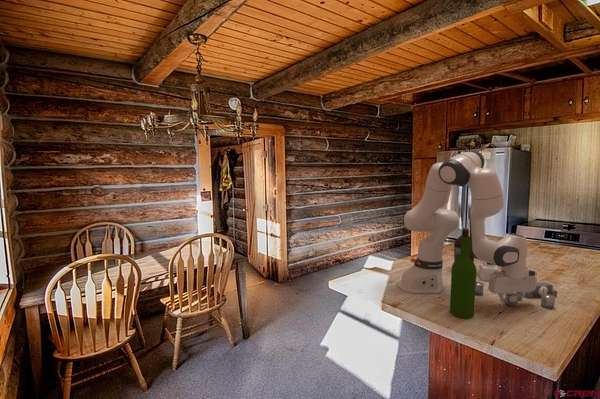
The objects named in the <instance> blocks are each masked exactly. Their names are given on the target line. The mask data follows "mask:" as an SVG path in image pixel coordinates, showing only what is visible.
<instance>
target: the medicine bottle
mask: <svg viewBox="0 0 600 399" xmlns="http://www.w3.org/2000/svg"><path fill="white" fill-rule="evenodd" d="M481 261H482V260H481ZM478 268H479V269H478V276H479V278H480V279H481V280H482V282H483V281H484V282H489V281H490V277H491V274H492V273H494V272H499V268H498V266H496V265H494V264H490V263H488V262H485V261H482V263H479V267H478Z"/></svg>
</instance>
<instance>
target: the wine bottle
mask: <svg viewBox="0 0 600 399" xmlns="http://www.w3.org/2000/svg"><path fill="white" fill-rule="evenodd" d="M469 236H470V235H469ZM469 236H462V240H461V253H460V256H459V257H458V258H457V259H456V260H455V262H453V263H452V266H451V278H450V280H451V281H450V294H449V296H450V298H449V299H450V300H449V313H450V314H451V315H452V316H453V317H455V318H459V319H465V320H469V319H473V318H474V316H475V305H476V304H475V303H476V295H475V289H476V282H477V270H478V269H477V266H476V264H475V263H473V261H472V259H471V258H470V256H469V248H470V237H469Z"/></svg>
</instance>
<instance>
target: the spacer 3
mask: <svg viewBox="0 0 600 399" xmlns="http://www.w3.org/2000/svg"><path fill="white" fill-rule="evenodd" d="M555 303H556V296H553V295H551V294H542V297H541V301H540V306H541V307H542V308H544V309H547V310H554V309H555V305H556V304H555Z"/></svg>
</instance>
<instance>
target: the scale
mask: <svg viewBox="0 0 600 399" xmlns="http://www.w3.org/2000/svg"><path fill="white" fill-rule="evenodd" d="M553 286H554V285H553V284H551V283H549V282H539V283H537V285H536V289H535V291H528V292H526V294H525V295H524V297H523V298H526V299H539V298H542V294H551V295H553V296H555V297H557V296H558V290H555V289H554V287H553ZM515 293H516V294H517V295H519V293H520V292H515Z"/></svg>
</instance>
